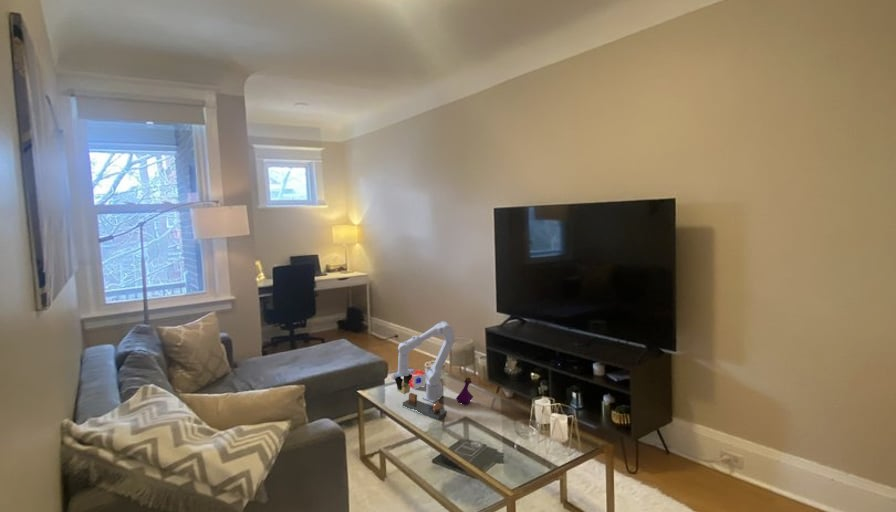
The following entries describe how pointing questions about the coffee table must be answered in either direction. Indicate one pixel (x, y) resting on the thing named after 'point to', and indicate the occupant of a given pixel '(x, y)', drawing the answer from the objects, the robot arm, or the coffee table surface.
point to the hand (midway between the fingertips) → (402, 388)
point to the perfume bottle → (465, 392)
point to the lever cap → (404, 388)
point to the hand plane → (425, 408)
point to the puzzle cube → (417, 379)
